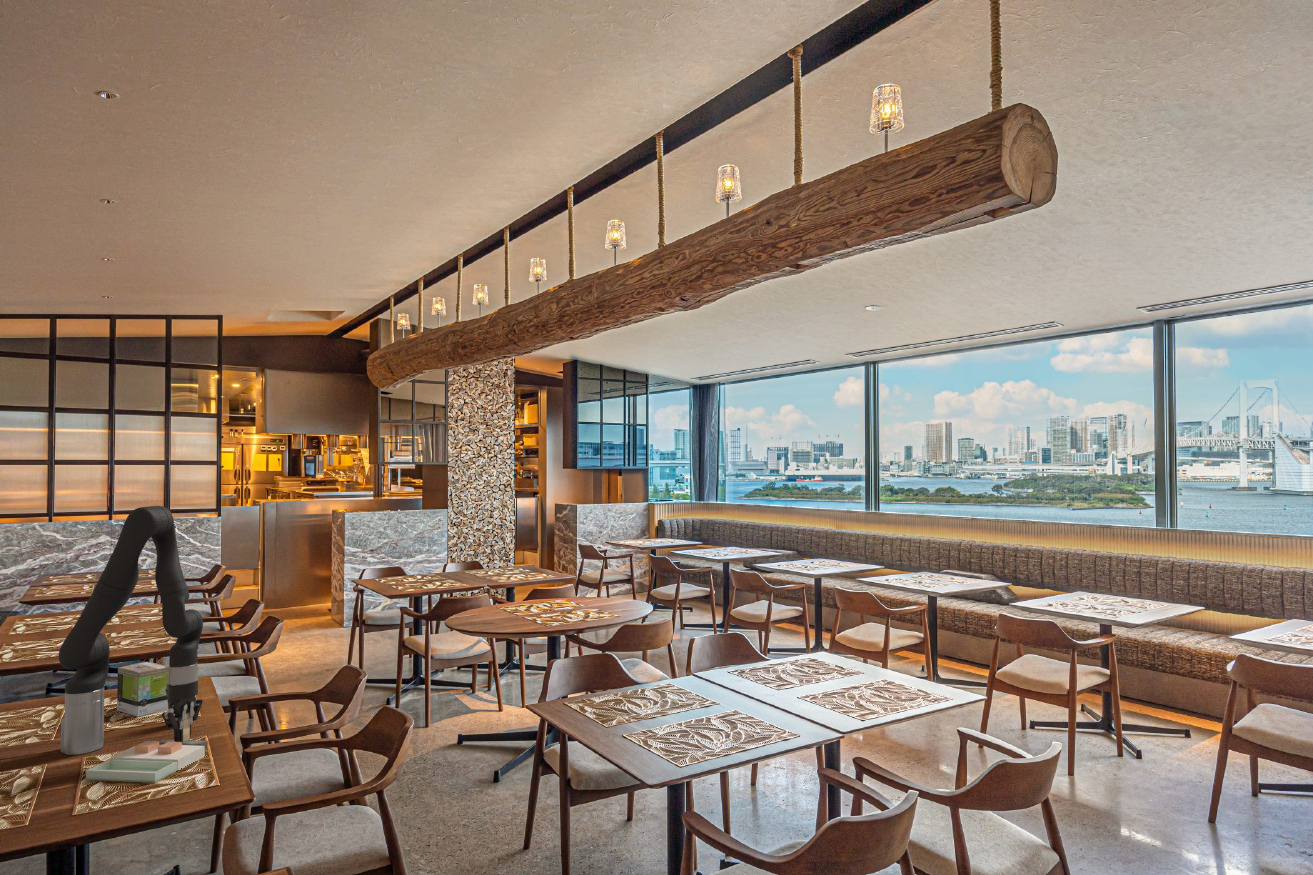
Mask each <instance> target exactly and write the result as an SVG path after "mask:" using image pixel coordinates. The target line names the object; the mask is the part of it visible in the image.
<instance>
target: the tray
mask: <svg viewBox="0 0 1313 875" xmlns="http://www.w3.org/2000/svg"><path fill="white" fill-rule="evenodd" d="M176 771H177V762H172V761H145V760H118V759H111V758H110V759H108V760H106V761H103V762H102V763H100V764H97V765H95V766H92V767H91V768H89V769H86V770H85V781H99V782H100V781H103V782H121V781H122V782H124V783H147V784H148V783H149V784H151V783H152V784H156V783H158V782H160V781H161V780H164V779H165V778H167V777H170V776H172V775H173V774H175V773H177V772H178V771H177V772H176Z"/></svg>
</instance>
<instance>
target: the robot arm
mask: <svg viewBox="0 0 1313 875" xmlns="http://www.w3.org/2000/svg"><path fill="white" fill-rule="evenodd" d="M176 533H177V532H176V526H175V519H174V516H173V513H172V512H171V510H169V509H168V507H166V506H163V505H150V506H140V507H137V508H134V509H133V510H132V511H130V513H129V514H128V515H127V517H126V518H125V521H124V523H123V526H122V529H121V531H120V534H119V536H118V540H117V541H116V544H115V547H114V549H113V551H112V552H111V555H110V557H109V559H108V561H107V563H106V565H105V568H104V570H103V571H102V573H101V574H100V576H99V578H98V580H97V581H96V584H95V586H94V588H93V590H92V593H91V595H90V597H89V599H88V600H87V603H86V604H85V606H84V608H83V610H82V612H81V613H80V615H79V617H78V619H77V621H76V622H75V624H74V625H73V627H72V628H71V629H70V632H69V633H68V635H67V636H66V637H65V639H64V640H63V642H62V643H61V645H60V648H59V651H58V661H59V664H60V666H61V667H62V668H64V669H65V670H69V671H72V670H74V671H75V670H76V671H75V673H74V675H72V676H71V678H70V679H69V680H67V681H66V683H65V685H64V717H63V718H62V719H61V721H60V722H61V723H60V724H61V725H60V753H63V754H65V755H68V756H69V755H71V756H72V755H74V756H75V755H83V754H87V753H92V752H94V751H97V750H99V749H101V748H103V747H104V740H105V738H104V735H105V733H104V732H105V683H106V680H107V677H108V675H109V668H110V666H109V665H110V651H111V650H110V649H111V648H110V643H109V639H108V638H107V636H106V635H104V634H103V633H101V632H102V630H103V629H104V627H105V626H106V625H107V624H108V623H109V622H110V621H111V619H113V618H114V617H115V616H116V615H117V614H118V613H119V612H120V611H121V610H122V609H123V608H124V606H125V605H126V604H127V603H128V601H129V599H130V598H131V596H132V594H133V592H134V590H135V588H136V586H137V584H138V580H139V576H140V575H139V574H140V572H139V571H140V570H139V559H140V557H141V553H142V552H143V549H144V547H145V546H146V544H147V543H148V541H149V540H150V538H151V539H152V542H153V544H154V548H155V551H156V552H155V553H156V564H155V571H154V572H155V574H154V579H155V580H154V581H155V584H156V589H157V591H158V595H159V597H160V600H161V614H162V625H163V629H164V631H165V632H166V633H167V635H168V636H170V637H171V638H175V639H176V641H175V643H174V644H173V645H172V646H171V647H170V649H169V653H168V654H169V656H168V657H169V661H168V662H169V664H168V666H169V672H168V698H169V699H170V700H171V703H170V707H169V708H170V709H169V710H168V709H167V710H166V711H164V712H163V711H162V714H161V716H162V719H163V722H164V724H165V725H166V728H167V729H168V730H172V731H173V740H174V741H175V742H182V741H183V729H182V728H183V721H184V720H185V717H186V714H187V713H189V718H190V738H191V735H192V725H193V723H194V722H195V721H197V720H198V717H199V714H200V711H201V708H202V704H203V702H204V700H203V699H197V697H196V696H197V695H198V694H199V665H198V647H199V643H200V640H201V637H202V633H203V632H202V631H203V629H204V621H203V617H202V614H201V613H200V612H199V611H198V610H196V609H193V608H192V609H191V608H190V609H186V604H185V603H186V602H187V601H188V600H189V598H190V592H189V589H188V585H187V582H186V578H185V576H184V572H183V570H182V565H181V562H180V555H179V550H178V549H179V548H178V541H177V534H176ZM177 717H181V718H177ZM177 721H179V725H178V724H177Z"/></svg>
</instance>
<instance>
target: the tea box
mask: <svg viewBox="0 0 1313 875" xmlns="http://www.w3.org/2000/svg"><path fill="white" fill-rule="evenodd" d="M168 672H169V665H164V664H160V663H155V662H150V661H145V662H139V663H135V664H130V665H129V664H128V665H125V666H120V667H118V668H117V688H116V691H117V692H116V693H117V696H116V697H117V698H116V710H117V711H118V712H122V713H125V714H129V715H131V716H133V717H137V718H138V717H139V718H140V717H143V716H148V715H151V714H155V713H156V714H157V713H159V712H163V711H164V712H165V711H168V699H167V695H166V691H165V690H166V686H167V683H168Z"/></svg>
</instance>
